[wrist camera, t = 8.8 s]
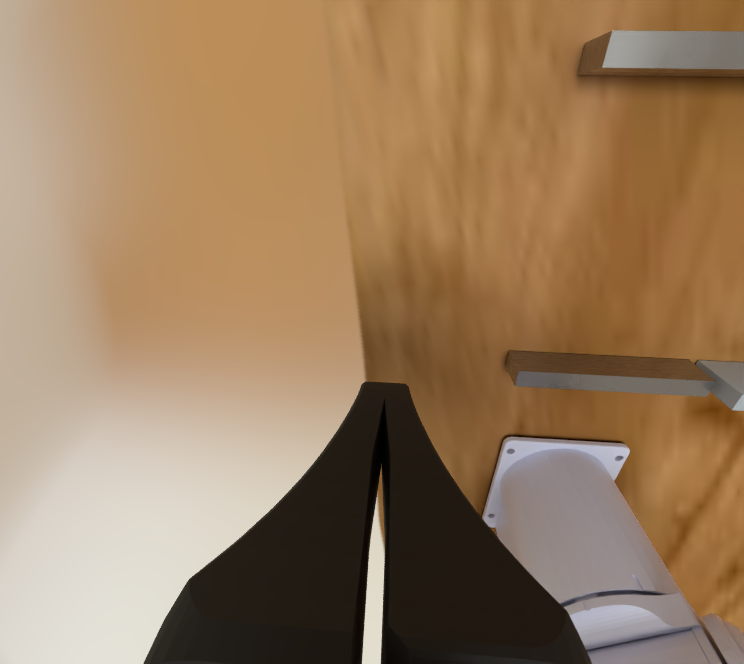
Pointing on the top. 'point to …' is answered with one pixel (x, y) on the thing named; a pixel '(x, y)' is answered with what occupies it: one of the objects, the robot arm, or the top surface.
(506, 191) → the top surface
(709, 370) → the blue-gray u-shaped frame
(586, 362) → the slot rails
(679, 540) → the top surface
